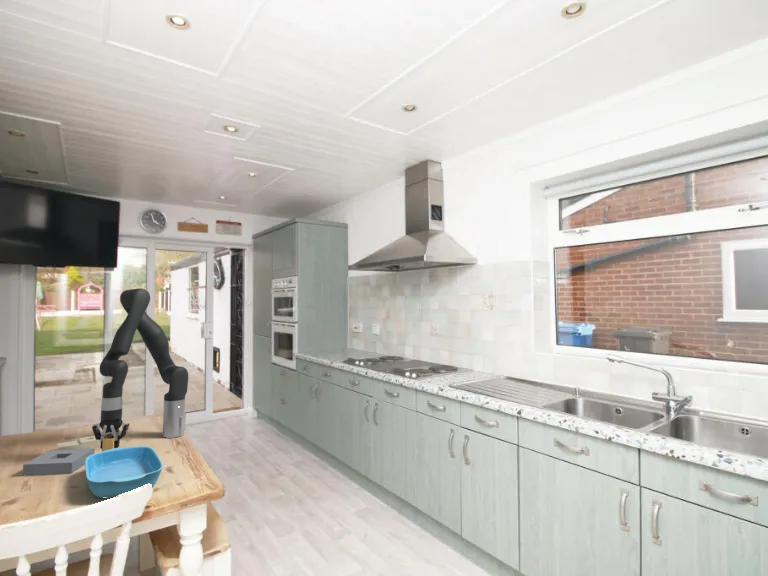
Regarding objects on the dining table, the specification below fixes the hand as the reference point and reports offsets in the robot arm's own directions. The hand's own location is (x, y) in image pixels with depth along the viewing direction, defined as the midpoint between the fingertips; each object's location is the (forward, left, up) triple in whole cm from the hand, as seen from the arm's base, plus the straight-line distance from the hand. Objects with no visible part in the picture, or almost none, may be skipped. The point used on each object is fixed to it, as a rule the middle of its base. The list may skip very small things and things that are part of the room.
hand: (109, 449), depth 174 cm
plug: (0, 0, -2) cm, 2 cm away
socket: (+12, +12, -2) cm, 17 cm away
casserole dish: (-17, +29, -3) cm, 34 cm away
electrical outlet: (+15, -10, -3) cm, 18 cm away
